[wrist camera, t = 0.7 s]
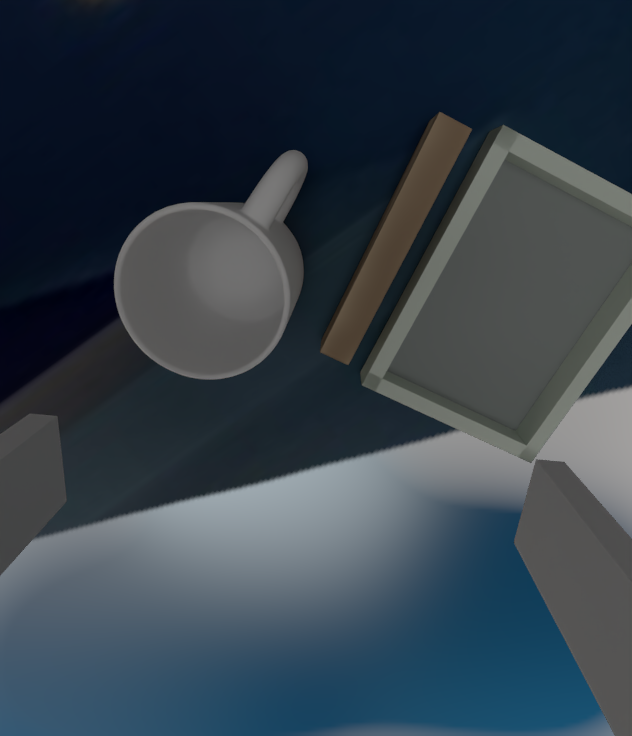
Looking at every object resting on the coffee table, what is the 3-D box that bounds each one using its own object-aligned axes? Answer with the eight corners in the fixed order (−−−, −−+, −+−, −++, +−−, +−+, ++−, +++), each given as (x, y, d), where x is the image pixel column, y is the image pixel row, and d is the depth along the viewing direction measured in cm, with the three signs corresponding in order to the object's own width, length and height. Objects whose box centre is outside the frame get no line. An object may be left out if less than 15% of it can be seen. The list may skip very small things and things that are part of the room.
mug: (253, 120, 29) (210, 78, 19) (363, 202, 30) (375, 202, 20) (160, 283, 32) (83, 317, 23) (262, 350, 34) (231, 411, 24)
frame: (360, 372, 34) (361, 385, 31) (489, 131, 28) (503, 125, 26) (518, 445, 35) (531, 463, 33) (670, 228, 30) (699, 230, 27)
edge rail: (321, 339, 33) (320, 352, 30) (429, 120, 28) (439, 111, 26) (347, 351, 33) (348, 365, 30) (459, 136, 29) (472, 129, 26)
